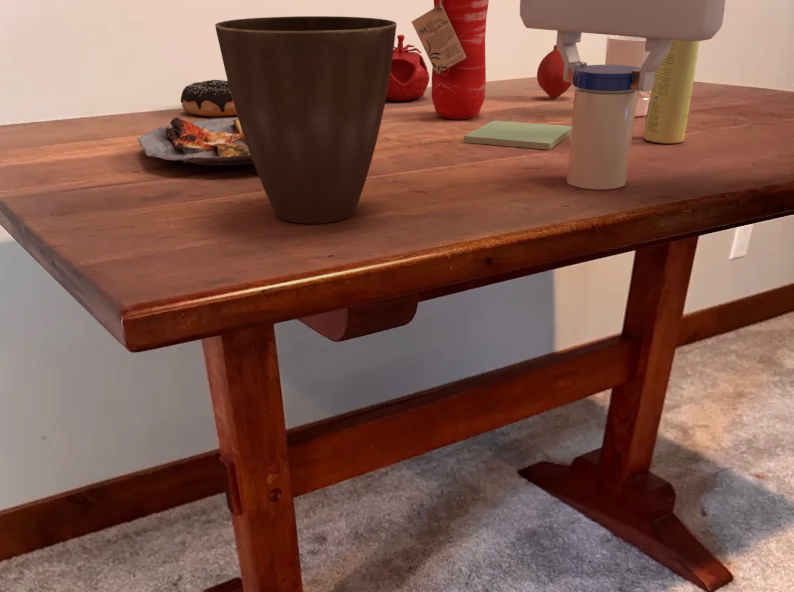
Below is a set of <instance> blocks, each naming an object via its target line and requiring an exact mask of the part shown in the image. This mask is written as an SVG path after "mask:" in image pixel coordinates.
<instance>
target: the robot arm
mask: <svg viewBox="0 0 794 592" xmlns="http://www.w3.org/2000/svg"><path fill="white" fill-rule="evenodd" d="M725 6H726V0H519V17H520V18H521V21H522V24H523V25H524V27H525V28H526V29H532V30H545V31H556V33H557V34H556V44H557V46H558V49H559V52H560V54H561V57H562V60H563V62H564V74H563V80H564V81H566V82H573V75H574V72H575V68H577V67H580V66H587V65H588V62H586V61H581V58H580V53H579V50H578V46H577V44H578V43H581V42H582V33H583V34H594V35H595V34H596V35H605V36H612V35H617V36H629V37H642V38H646V44H645V51H647V52H650V53H649V55H648V57H647V58H646V60H645V62H644V63H643V65H642V67H641V68H640V69H638V70H632V72H631V80H632V81H631V82H630V89H631V90H635V91H642V92H646V91H650V90H652V88H653V84H654V78H655V71H656V70H657V69H658V68H659V66H660V65H661V63H662V62H663V60H664V59H665V58H666V56H667V55H668V53H669V52H670V49H671V43H672V40H678V41H691V42H695V41H699V42H702V41H708V40H711V39H713V38H714V37H715V36H716V35H717V33H718V32H719V31H720V30H721V28H722V27H723V22H724V16H725ZM556 44H555V45H556Z"/></svg>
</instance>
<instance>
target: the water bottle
mask: <svg viewBox="0 0 794 592" xmlns="http://www.w3.org/2000/svg"><path fill="white" fill-rule="evenodd" d="M489 2H490V0H433V8H432V9H430V10H429V11H427V12H425V13H423V14H422V15H420V16H419V17H417V18H415V19H413V20H411V24H412V26H413V28H414V30H415V32H416V34H417V36H418V39H419V41H420V43H421V45H422V47H423V49H424V51H425V53H426V55H427V57H428V60H429V62H430V64H431V66H432V71H431V99H432V102H433V107H434V110H435V113H436V114H437V116H438V117H439V118H441V119H445V120H470V119H473V118H476V117H477V116H479V114H480V112H481V110H482V107H483V104H484V102H485V97H486V84H487V83H486V82H487V81H486V80H487V77H486V75H487V73H486V72H487V71H486V69H487V68H486V67H487V65H486V64H487V63H486V34H487V33H486V32H487V30H486V29H487V17H488V10H489Z"/></svg>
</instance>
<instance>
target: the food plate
mask: <svg viewBox="0 0 794 592" xmlns="http://www.w3.org/2000/svg"><path fill="white" fill-rule="evenodd" d="M136 141H138V143H139V145H140V147H141V149H142V151H144V154H145V156H147V157H154V158H160V159H162V160H167V161H171V162H176V161H180V162H183V164H187V163H192V164H195V165H197V166H198V165H199V166H200V165H204V166H240V165H250V164H251V165H254V163H253V160H252V157H251V155H250V152H249V149H248V146H247V143H246V141H245V138H244V135H243V132H242V129H241V126H240V122H239V119H238V116H236V117H213V118H207V119H196V120H191V121H186V120H184V119H181V117H180V116H176V117H175V118H174V117H173V118H172V119H171V121H170V125H165V126H161V127H157V128H155V129H153V130H150V131H147V132H145V133H144V134H143V135H141V136H139V137H137V139H136Z"/></svg>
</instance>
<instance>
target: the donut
mask: <svg viewBox="0 0 794 592" xmlns="http://www.w3.org/2000/svg"><path fill="white" fill-rule="evenodd" d="M180 103H181V106H182V108H183V110H184V111H185V112H187V113H189V114H191V115H195V116H197V117H199V116H200V117H211V118H221V117H233V116H237V113H236V109H235V106H234V102H233V99H232V95H231V92H230V88H229V84H228V80H223V79H211V80H210V79H209V80H204V81H198V82H192V83H191V84H188V85H186V86H185V87H184V88H183V90H182V92H181V95H180Z"/></svg>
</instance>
